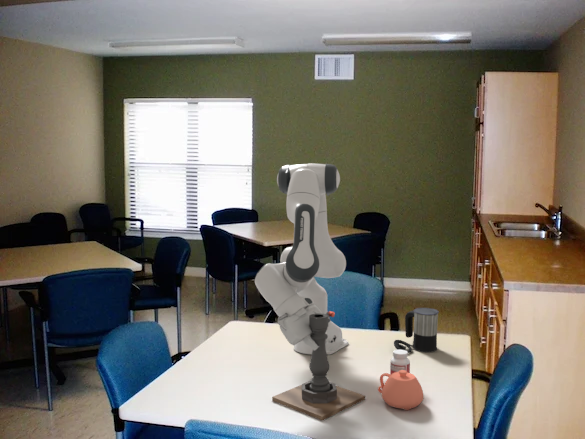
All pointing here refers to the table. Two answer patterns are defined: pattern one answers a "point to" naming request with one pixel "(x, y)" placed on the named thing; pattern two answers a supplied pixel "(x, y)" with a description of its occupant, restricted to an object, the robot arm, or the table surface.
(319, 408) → the candle dish
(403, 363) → the pill bottle
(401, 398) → the sugar bowl
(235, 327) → the table surface
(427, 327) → the milk frother
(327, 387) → the candle holder
